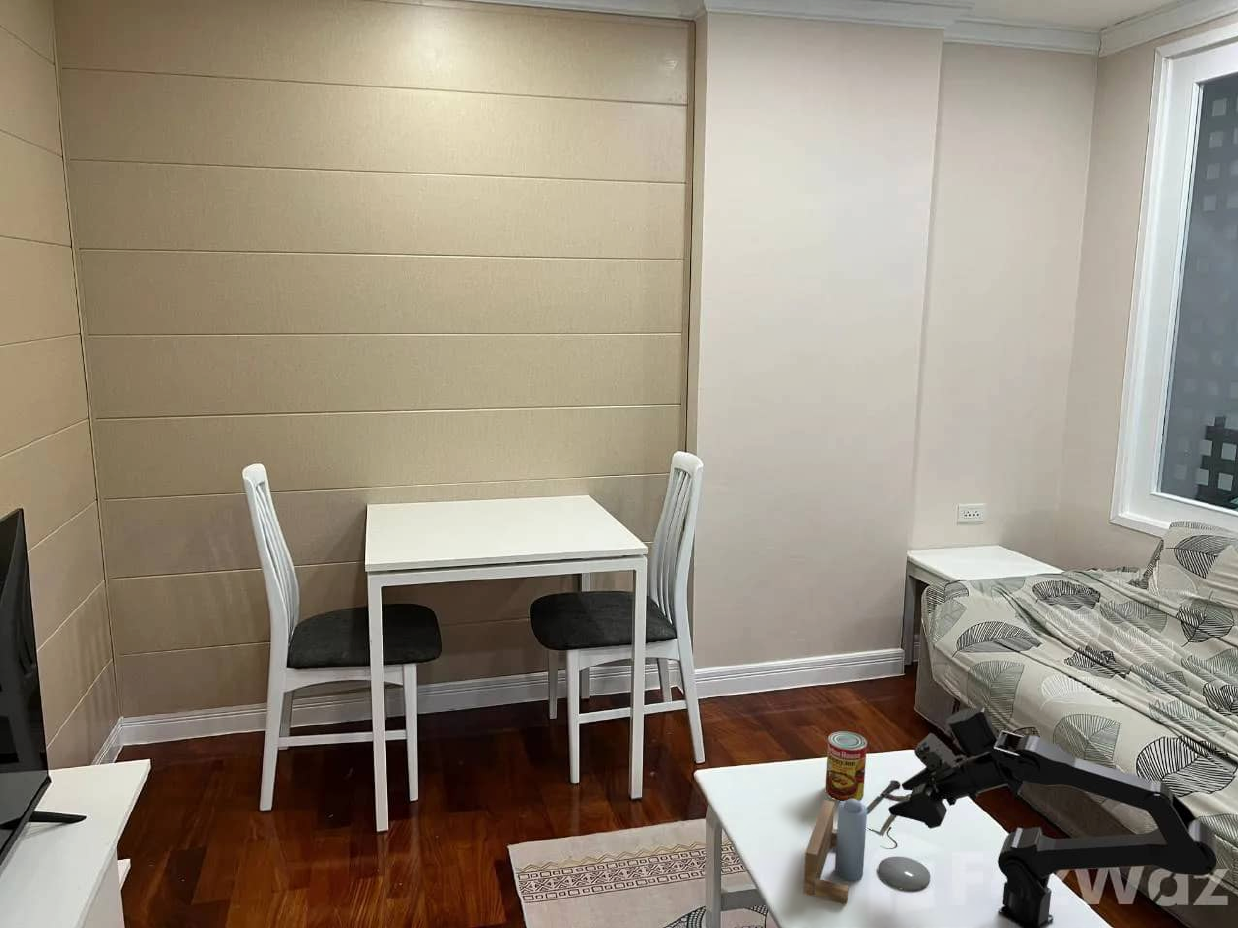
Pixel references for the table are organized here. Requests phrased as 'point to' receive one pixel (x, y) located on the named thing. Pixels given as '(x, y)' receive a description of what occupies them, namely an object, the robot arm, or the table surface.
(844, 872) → the pepper mill
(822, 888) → the walnut bench
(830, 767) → the canned food
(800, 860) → the table surface
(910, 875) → the coaster
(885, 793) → the hacksaw
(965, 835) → the table surface
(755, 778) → the table surface
